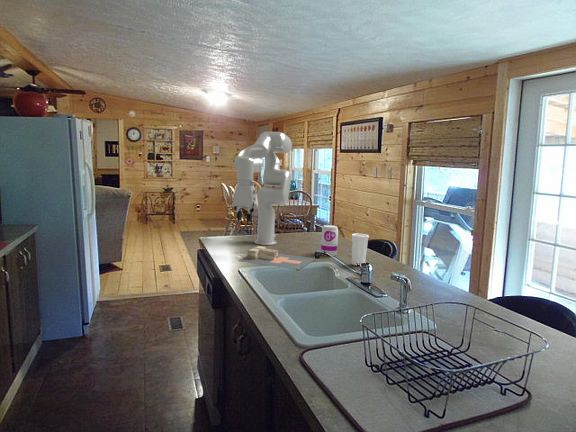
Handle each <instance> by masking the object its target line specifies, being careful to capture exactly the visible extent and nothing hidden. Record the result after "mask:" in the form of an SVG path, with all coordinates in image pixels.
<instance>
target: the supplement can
mask: <svg viewBox="0 0 576 432" xmlns="http://www.w3.org/2000/svg"><path fill="white" fill-rule="evenodd" d="M320 240H321V243H320V253H321V252H324V253H328V254H330V255H332V256H334V257H336V256H337V255H338V244H339V243H338V240H339V228H338V226H337V225H330V224H329V225H328V224H324V225H323V226H322V228H321V239H320ZM335 255H336V256H335Z"/></svg>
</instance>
